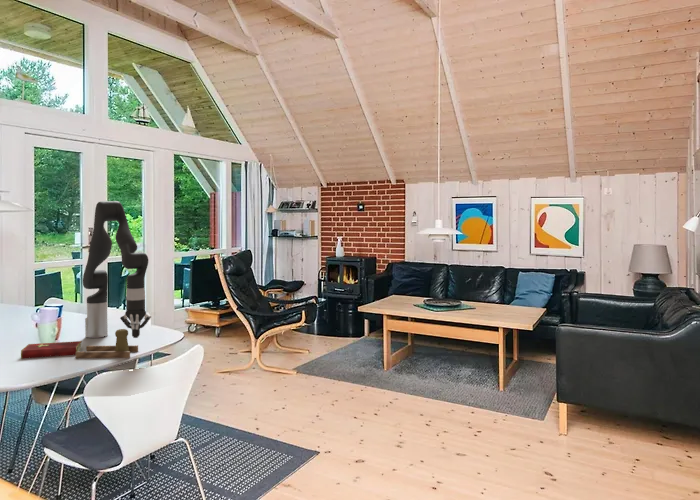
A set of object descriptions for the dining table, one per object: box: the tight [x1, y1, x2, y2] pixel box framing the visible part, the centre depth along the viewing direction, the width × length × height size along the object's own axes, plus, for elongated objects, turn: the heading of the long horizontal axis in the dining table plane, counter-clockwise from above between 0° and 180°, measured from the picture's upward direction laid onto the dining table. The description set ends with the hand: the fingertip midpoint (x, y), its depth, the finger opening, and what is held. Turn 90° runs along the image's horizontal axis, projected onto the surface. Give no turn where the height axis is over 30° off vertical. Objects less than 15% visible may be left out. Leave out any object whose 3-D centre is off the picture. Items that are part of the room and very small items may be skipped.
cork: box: [114, 328, 129, 351], centre depth 220 cm, size 6×6×11 cm
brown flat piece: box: [75, 344, 139, 359], centre depth 220 cm, size 22×11×2 cm, turn 94°
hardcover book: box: [20, 340, 83, 360], centre depth 221 cm, size 12×21×4 cm, turn 109°
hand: (136, 337), depth 221 cm, fingers closed
